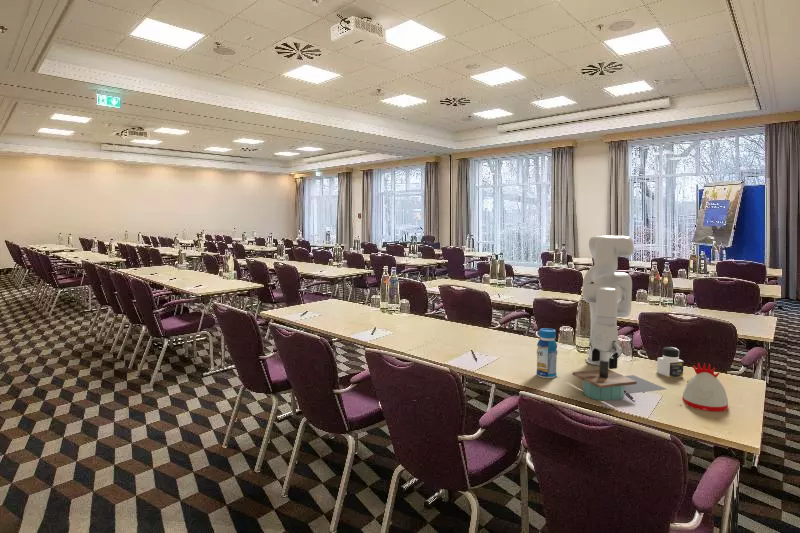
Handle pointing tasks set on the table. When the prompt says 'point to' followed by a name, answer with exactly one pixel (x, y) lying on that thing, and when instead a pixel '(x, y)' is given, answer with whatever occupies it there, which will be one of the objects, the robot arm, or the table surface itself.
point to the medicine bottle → (670, 363)
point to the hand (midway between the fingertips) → (604, 364)
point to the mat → (641, 385)
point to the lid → (604, 377)
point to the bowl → (603, 392)
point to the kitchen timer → (705, 391)
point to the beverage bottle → (546, 353)
